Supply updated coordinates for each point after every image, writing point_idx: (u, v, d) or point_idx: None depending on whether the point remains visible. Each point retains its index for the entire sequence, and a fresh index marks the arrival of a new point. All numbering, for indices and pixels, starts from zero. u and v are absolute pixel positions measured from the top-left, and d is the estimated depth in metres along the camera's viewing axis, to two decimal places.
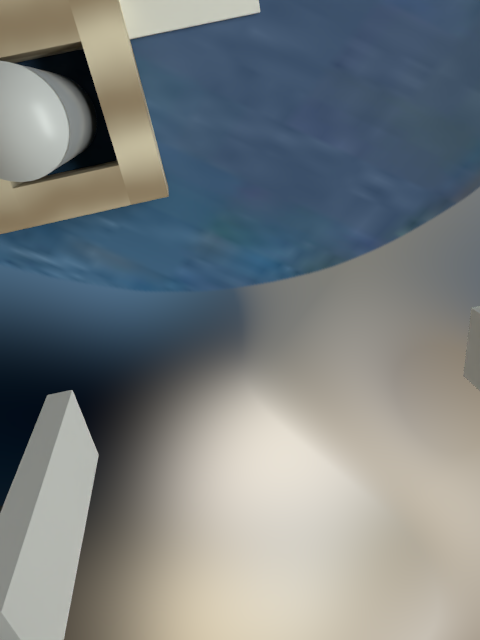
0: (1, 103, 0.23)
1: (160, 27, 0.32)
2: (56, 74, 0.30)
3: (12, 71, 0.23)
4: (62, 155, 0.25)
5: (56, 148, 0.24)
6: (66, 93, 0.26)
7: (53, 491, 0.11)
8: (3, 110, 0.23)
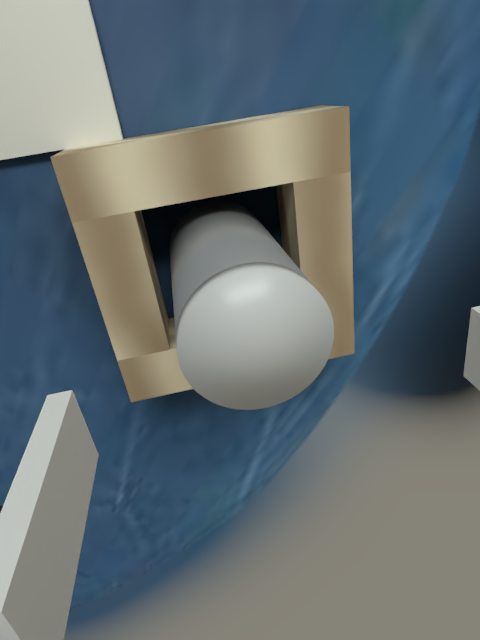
0: (230, 350, 0.16)
1: (103, 88, 0.22)
2: (174, 248, 0.23)
3: (190, 331, 0.16)
4: (305, 282, 0.16)
5: (295, 289, 0.16)
6: (207, 250, 0.18)
7: (53, 491, 0.11)
8: (239, 349, 0.16)
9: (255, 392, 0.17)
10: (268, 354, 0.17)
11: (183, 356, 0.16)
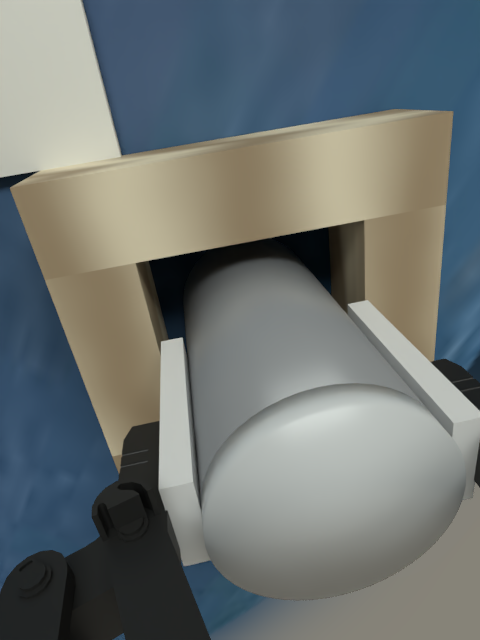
0: (293, 526, 0.10)
1: (93, 85, 0.15)
2: (192, 310, 0.16)
3: (227, 503, 0.09)
4: (430, 422, 0.09)
5: (411, 434, 0.09)
6: (248, 340, 0.11)
7: (190, 411, 0.12)
8: (307, 523, 0.10)
9: (327, 577, 0.11)
10: (354, 527, 0.10)
11: (214, 539, 0.09)
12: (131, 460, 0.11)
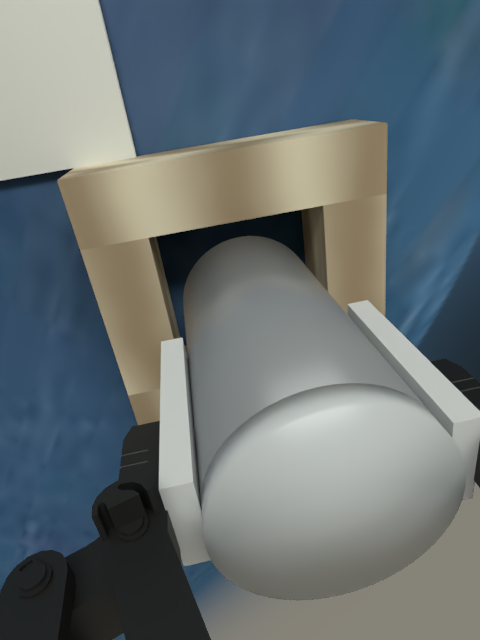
0: (293, 525, 0.10)
1: (116, 102, 0.20)
2: (192, 309, 0.16)
3: (227, 503, 0.09)
4: (430, 422, 0.09)
5: (411, 434, 0.09)
6: (248, 340, 0.11)
7: (190, 411, 0.12)
8: (307, 523, 0.10)
9: (327, 577, 0.11)
10: (354, 526, 0.10)
11: (214, 539, 0.09)
12: (131, 460, 0.11)
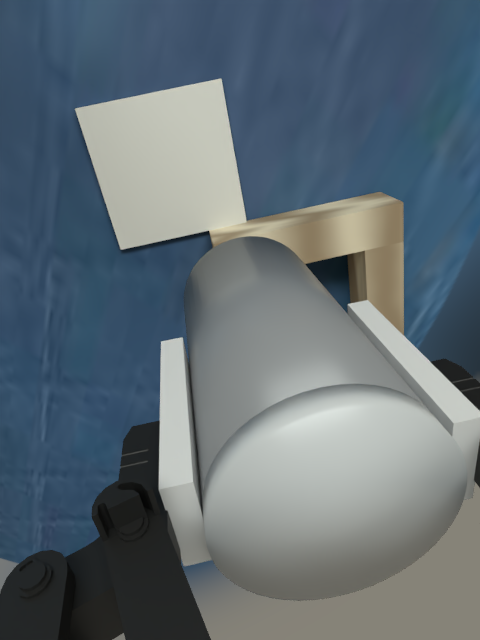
0: (294, 526, 0.10)
1: (237, 191, 0.33)
2: (193, 310, 0.16)
3: (228, 504, 0.09)
4: (432, 422, 0.09)
5: (413, 434, 0.09)
6: (250, 340, 0.11)
7: (191, 411, 0.12)
8: (309, 523, 0.10)
9: (328, 577, 0.11)
10: (355, 527, 0.10)
11: (215, 540, 0.09)
12: (131, 460, 0.11)
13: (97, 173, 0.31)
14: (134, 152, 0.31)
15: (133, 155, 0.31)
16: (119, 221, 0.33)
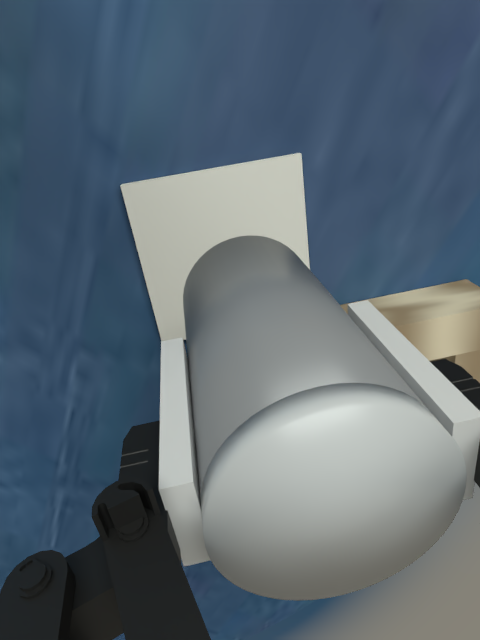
0: (293, 525, 0.10)
1: None
2: (192, 309, 0.16)
3: (227, 503, 0.09)
4: (431, 421, 0.09)
5: (412, 433, 0.09)
6: (248, 339, 0.11)
7: (190, 411, 0.12)
8: (307, 523, 0.10)
9: (327, 577, 0.11)
10: (354, 526, 0.10)
11: (214, 539, 0.09)
12: (131, 460, 0.11)
13: (141, 259, 0.25)
14: (189, 235, 0.25)
15: (187, 239, 0.25)
16: (163, 313, 0.27)
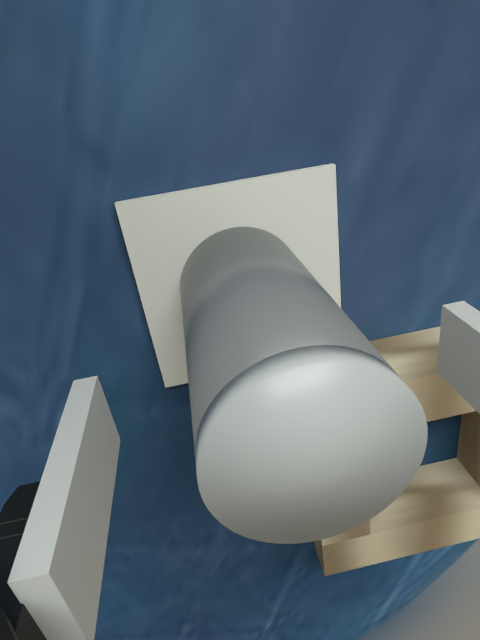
0: (275, 472, 0.11)
1: None
2: (188, 293, 0.18)
3: (217, 449, 0.10)
4: (393, 378, 0.10)
5: (377, 388, 0.10)
6: (238, 313, 0.13)
7: (85, 468, 0.11)
8: (288, 469, 0.11)
9: (307, 522, 0.12)
10: (330, 474, 0.11)
11: (207, 483, 0.11)
12: (4, 531, 0.10)
13: (141, 291, 0.21)
14: None
15: None
16: (166, 352, 0.23)
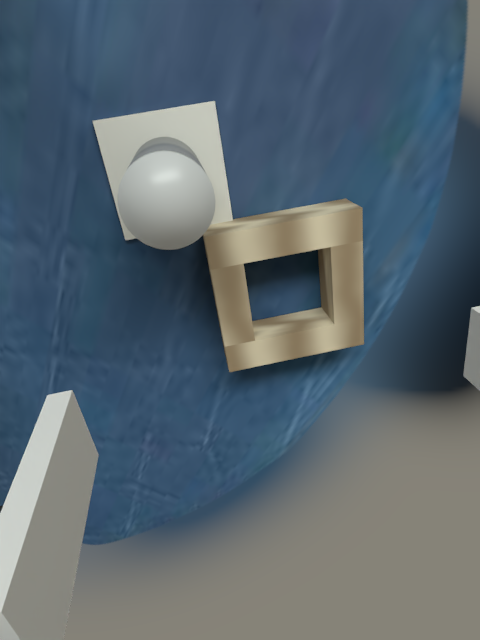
0: (150, 205, 0.27)
1: (225, 194, 0.39)
2: None
3: (125, 190, 0.26)
4: (193, 161, 0.26)
5: (187, 166, 0.26)
6: (142, 152, 0.29)
7: (53, 491, 0.11)
8: (156, 205, 0.27)
9: (169, 237, 0.28)
10: (174, 210, 0.27)
11: (122, 208, 0.27)
12: None
13: (108, 175, 0.37)
14: None
15: None
16: None
